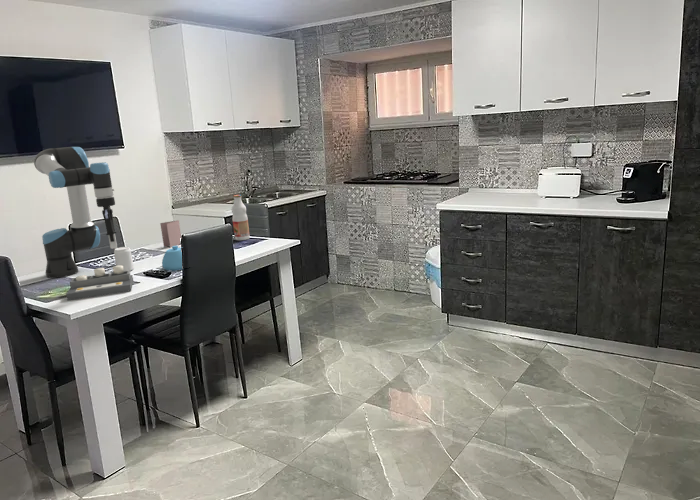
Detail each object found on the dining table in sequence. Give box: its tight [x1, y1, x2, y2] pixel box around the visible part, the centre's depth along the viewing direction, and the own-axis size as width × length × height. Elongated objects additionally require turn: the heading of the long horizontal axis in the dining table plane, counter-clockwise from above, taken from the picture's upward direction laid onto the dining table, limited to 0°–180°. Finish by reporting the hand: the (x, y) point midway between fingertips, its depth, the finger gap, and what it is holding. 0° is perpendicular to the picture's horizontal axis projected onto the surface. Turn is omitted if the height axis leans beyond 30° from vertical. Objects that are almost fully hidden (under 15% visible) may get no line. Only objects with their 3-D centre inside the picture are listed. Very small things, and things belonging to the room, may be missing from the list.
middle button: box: [93, 267, 107, 277], centre depth 244 cm, size 4×4×3 cm
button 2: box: [112, 265, 124, 274], centre depth 246 cm, size 4×4×3 cm
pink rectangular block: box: [159, 219, 182, 249], centre depth 328 cm, size 11×7×15 cm, turn 124°
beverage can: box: [113, 246, 135, 272], centre depth 274 cm, size 8×8×12 cm
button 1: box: [75, 274, 88, 281], centre depth 242 cm, size 4×4×3 cm
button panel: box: [65, 270, 134, 301], centre depth 242 cm, size 18×26×6 cm
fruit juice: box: [231, 194, 250, 241], centre depth 332 cm, size 9×9×28 cm
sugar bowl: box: [161, 245, 183, 272], centre depth 274 cm, size 15×15×12 cm
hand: (113, 248), depth 243 cm, fingers closed
